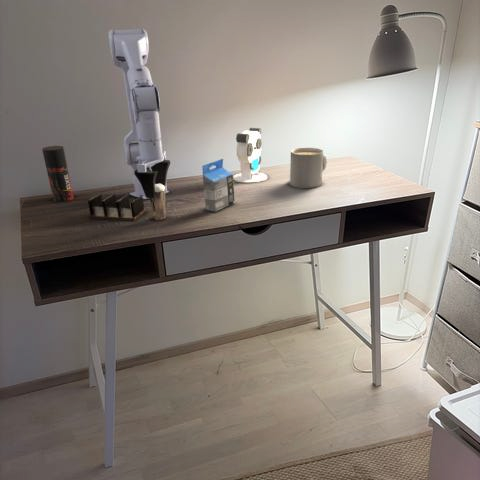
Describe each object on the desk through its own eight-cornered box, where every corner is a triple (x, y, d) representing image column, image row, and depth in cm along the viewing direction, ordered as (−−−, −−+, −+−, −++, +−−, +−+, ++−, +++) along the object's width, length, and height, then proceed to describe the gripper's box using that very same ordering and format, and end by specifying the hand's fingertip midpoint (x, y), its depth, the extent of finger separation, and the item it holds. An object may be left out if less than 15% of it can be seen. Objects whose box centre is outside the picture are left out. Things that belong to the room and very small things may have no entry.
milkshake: (158, 213, 141) (153, 177, 136) (171, 217, 138) (168, 180, 133) (145, 218, 138) (140, 181, 133) (159, 222, 135) (155, 184, 130)
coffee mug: (301, 189, 156) (302, 156, 151) (284, 182, 163) (284, 150, 158) (336, 183, 161) (339, 150, 156) (318, 176, 169) (320, 144, 164)
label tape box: (215, 212, 140) (213, 167, 134) (204, 209, 142) (201, 165, 136) (235, 203, 146) (233, 160, 140) (224, 201, 148) (222, 158, 142)
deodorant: (69, 201, 153) (58, 150, 145) (50, 201, 153) (38, 150, 145) (76, 195, 158) (66, 145, 150) (57, 195, 158) (46, 145, 150)
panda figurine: (258, 184, 162) (257, 135, 155) (226, 181, 167) (224, 133, 159) (272, 175, 171) (272, 128, 164) (242, 172, 176) (240, 126, 168)
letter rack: (90, 218, 139) (87, 200, 136) (102, 210, 145) (99, 192, 142) (134, 221, 136) (131, 202, 134) (145, 212, 142) (142, 194, 139)
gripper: (145, 133, 134) (151, 184, 141) (122, 145, 122) (130, 200, 129) (171, 133, 133) (176, 185, 140) (150, 146, 121) (156, 202, 128)
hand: (155, 193), depth 134 cm, fingers open, 7 cm apart
